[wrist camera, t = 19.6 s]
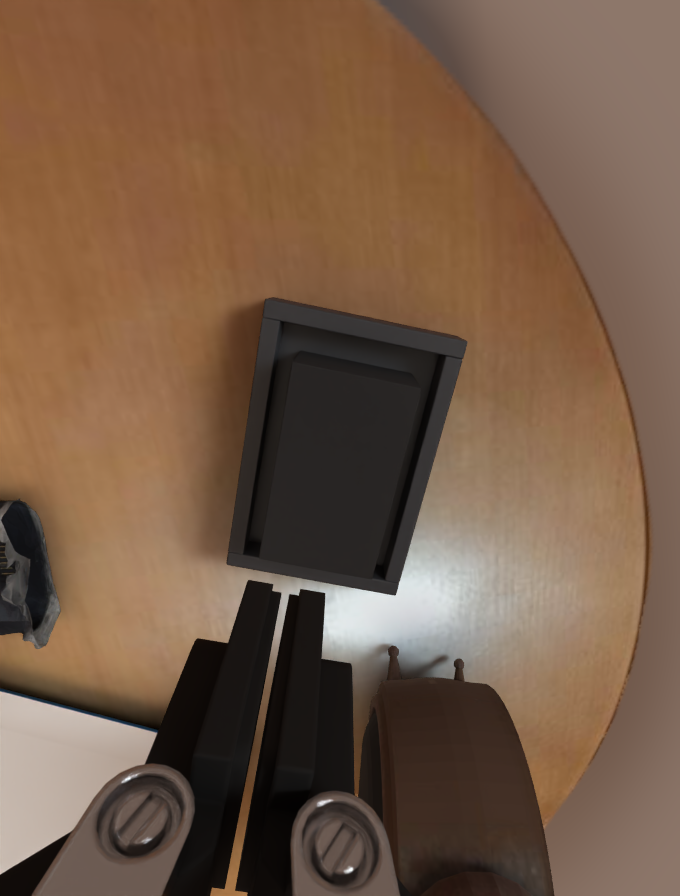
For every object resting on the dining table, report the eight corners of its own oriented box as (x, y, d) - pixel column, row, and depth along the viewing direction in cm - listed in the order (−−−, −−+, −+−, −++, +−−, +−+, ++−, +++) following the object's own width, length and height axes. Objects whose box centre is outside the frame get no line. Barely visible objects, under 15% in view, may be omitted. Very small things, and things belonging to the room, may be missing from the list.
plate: (-96, 636, 30) (-128, 661, 28) (254, 731, 32) (248, 761, 30) (-110, 865, 37) (-136, 898, 35) (179, 932, 39) (169, 966, 37)
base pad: (271, 296, 23) (265, 298, 21) (458, 336, 24) (468, 341, 22) (234, 544, 28) (225, 565, 26) (392, 573, 28) (395, 596, 26)
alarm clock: (359, 607, 29) (378, 1237, 10) (483, 612, 29) (741, 1254, 10) (350, 785, 34) (350, 1442, 15) (456, 790, 33) (594, 1454, 15)
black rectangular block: (300, 349, 23) (291, 361, 20) (412, 373, 24) (422, 388, 20) (269, 524, 26) (258, 559, 23) (369, 542, 27) (372, 580, 23)
